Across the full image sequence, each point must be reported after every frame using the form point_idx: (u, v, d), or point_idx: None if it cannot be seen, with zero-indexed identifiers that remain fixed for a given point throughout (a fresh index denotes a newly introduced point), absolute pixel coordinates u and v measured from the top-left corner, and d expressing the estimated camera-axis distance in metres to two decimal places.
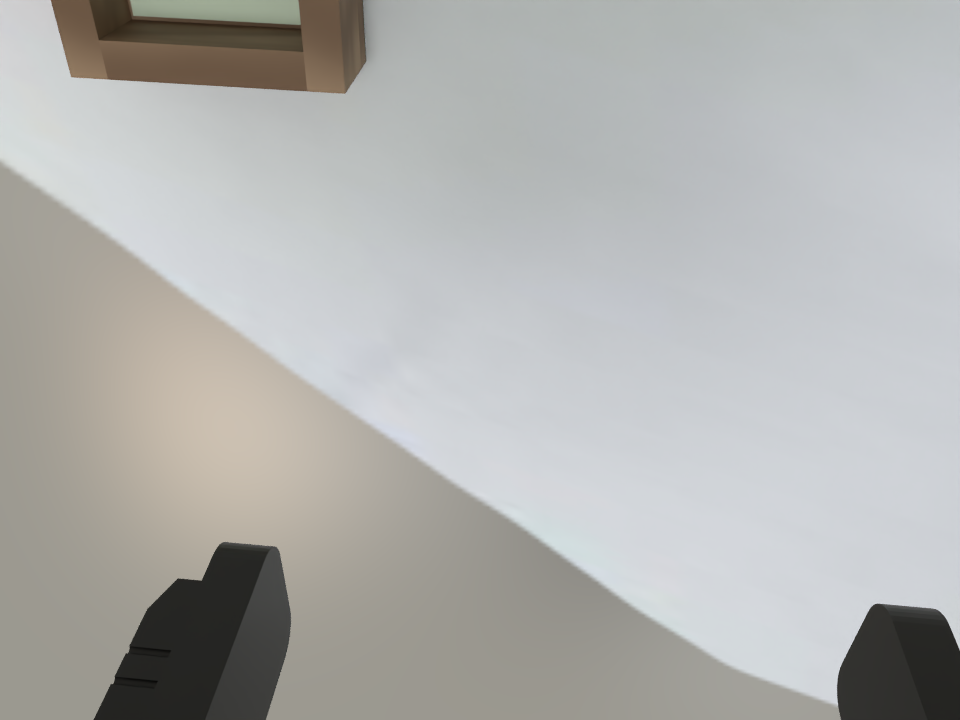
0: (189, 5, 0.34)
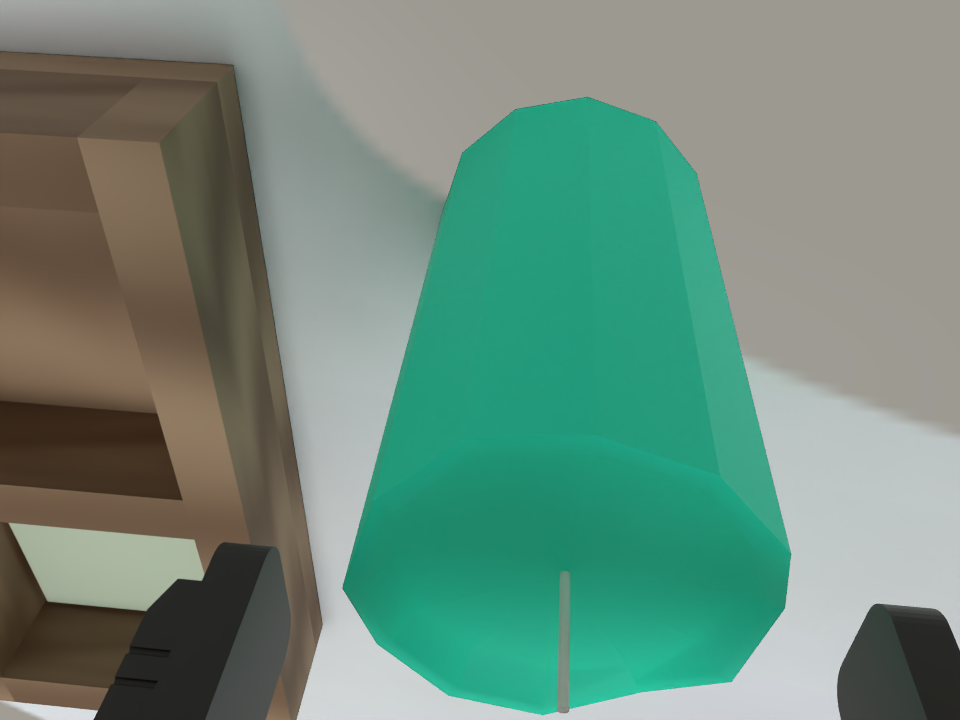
0: (111, 598, 0.29)
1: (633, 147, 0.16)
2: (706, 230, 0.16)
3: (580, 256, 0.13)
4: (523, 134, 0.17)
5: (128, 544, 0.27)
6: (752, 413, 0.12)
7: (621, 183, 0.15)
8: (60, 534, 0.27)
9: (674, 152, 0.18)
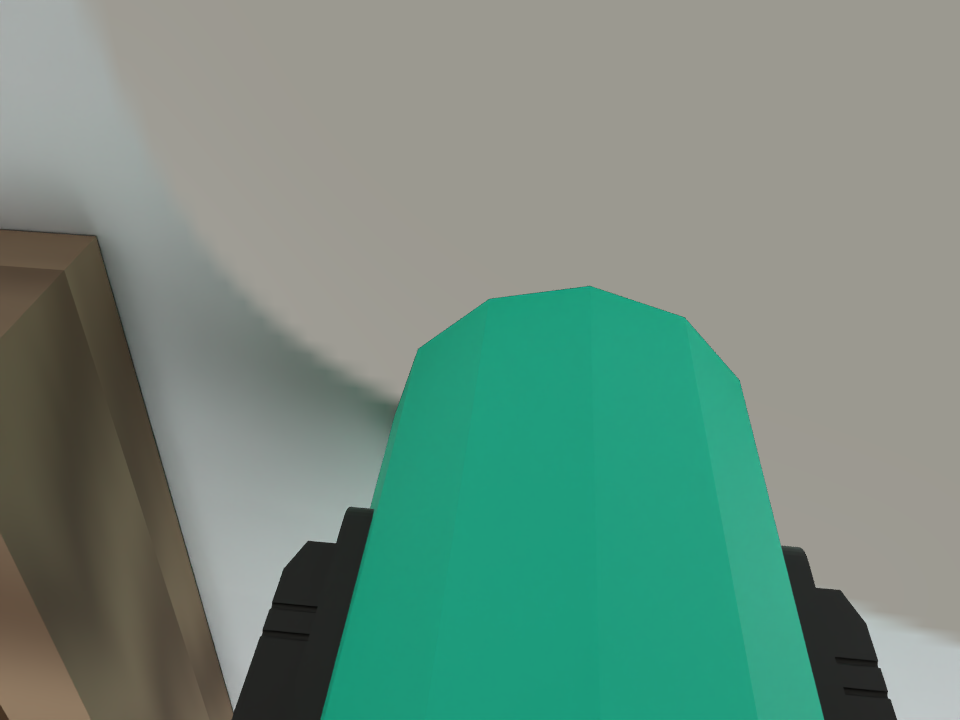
0: None
1: (656, 378, 0.11)
2: (763, 502, 0.11)
3: (582, 666, 0.08)
4: (498, 352, 0.12)
5: None
6: None
7: (643, 465, 0.10)
8: None
9: (711, 362, 0.13)
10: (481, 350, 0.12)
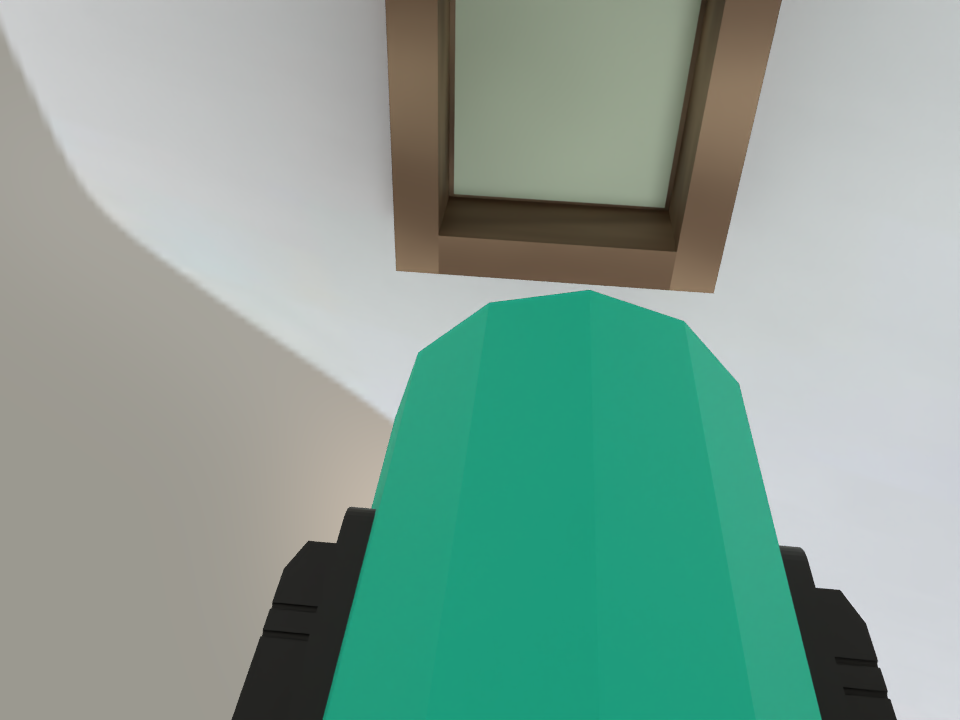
0: (521, 184, 0.30)
1: (656, 383, 0.11)
2: (762, 506, 0.11)
3: (580, 671, 0.08)
4: (498, 356, 0.12)
5: (567, 102, 0.28)
6: None
7: (643, 470, 0.10)
8: (501, 93, 0.28)
9: (710, 366, 0.13)
10: (481, 354, 0.12)
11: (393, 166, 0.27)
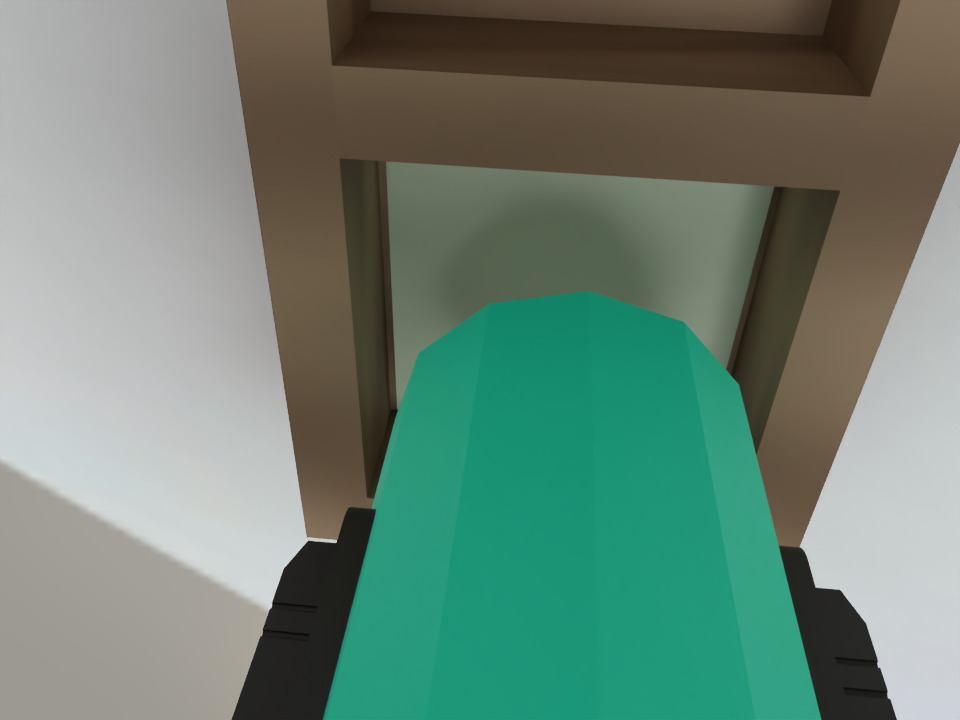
0: None
1: (656, 383, 0.11)
2: (763, 507, 0.11)
3: (580, 672, 0.08)
4: (498, 356, 0.12)
5: None
6: None
7: (642, 471, 0.10)
8: (463, 283, 0.18)
9: (710, 366, 0.13)
10: (481, 355, 0.12)
11: (290, 410, 0.17)
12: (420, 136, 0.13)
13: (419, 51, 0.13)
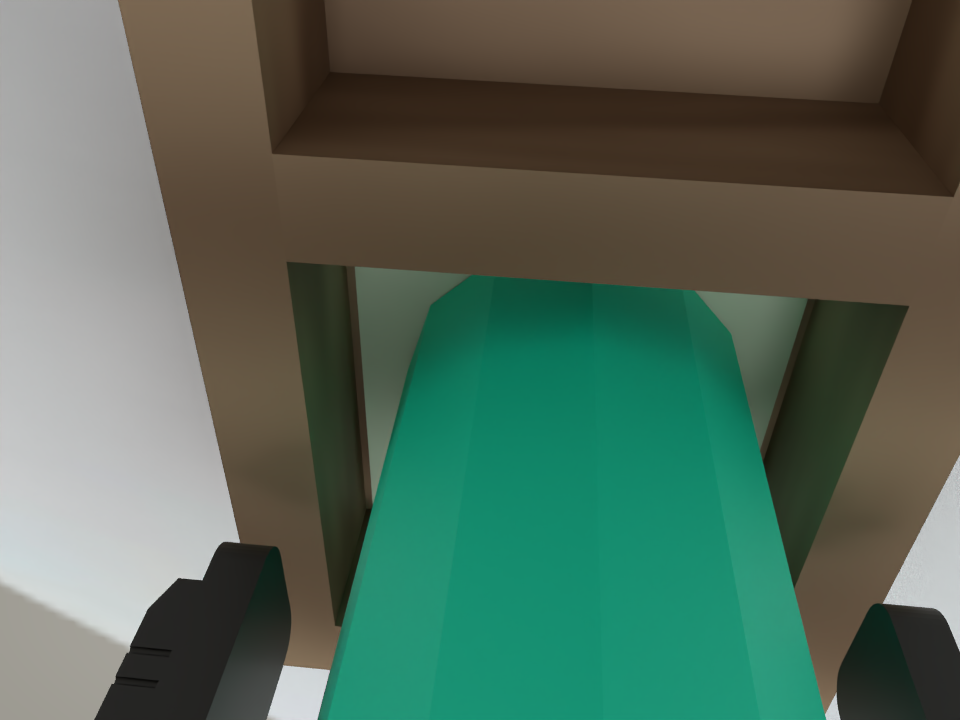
0: None
1: (653, 325, 0.12)
2: (751, 439, 0.12)
3: (584, 561, 0.08)
4: (506, 302, 0.13)
5: None
6: None
7: (640, 398, 0.11)
8: None
9: (704, 315, 0.14)
10: (490, 301, 0.13)
11: (241, 535, 0.14)
12: (384, 237, 0.11)
13: (384, 130, 0.11)
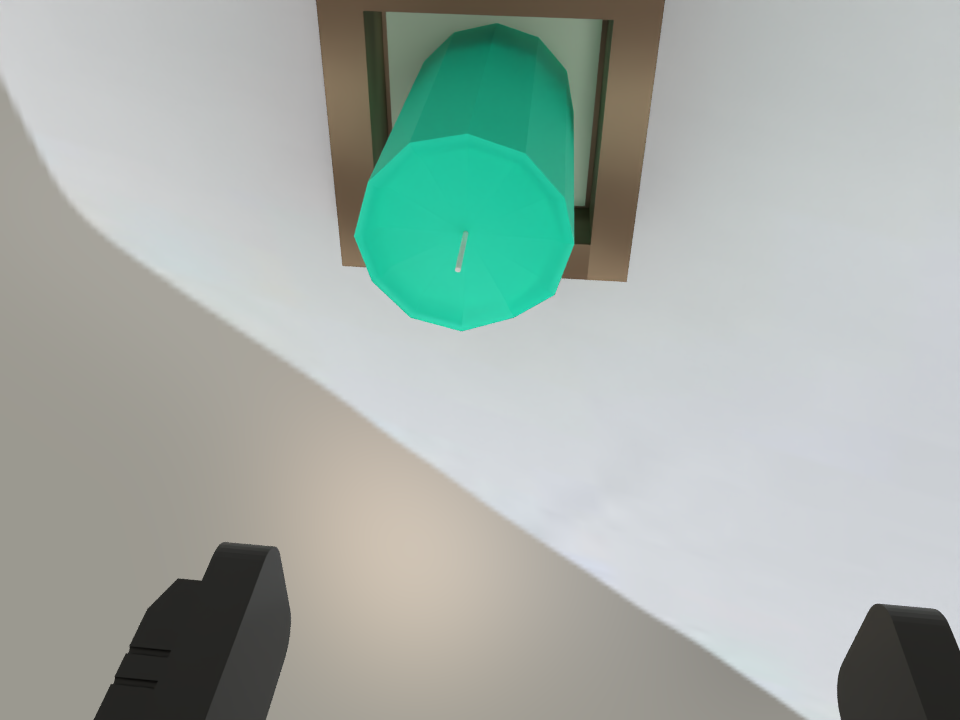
0: None
1: (519, 46, 0.28)
2: (562, 92, 0.28)
3: (475, 83, 0.24)
4: (456, 42, 0.28)
5: None
6: (562, 156, 0.24)
7: (507, 59, 0.26)
8: None
9: (549, 54, 0.29)
10: (449, 43, 0.29)
11: (334, 172, 0.30)
12: None
13: None
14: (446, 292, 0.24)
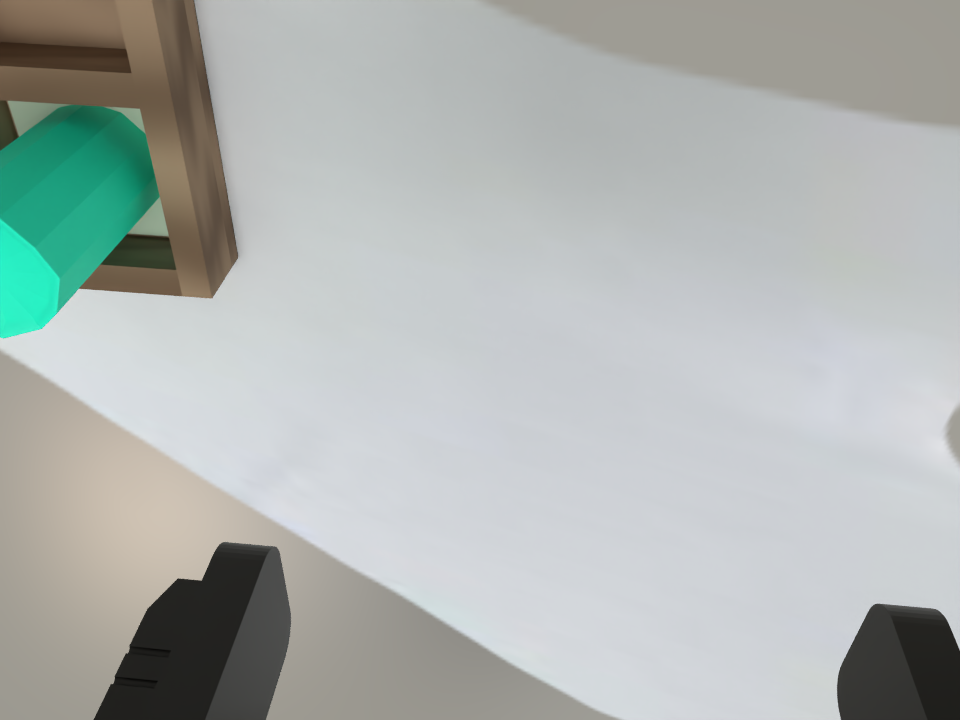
0: None
1: (90, 123, 0.37)
2: (119, 158, 0.37)
3: (10, 159, 0.33)
4: (48, 118, 0.38)
5: None
6: (63, 214, 0.33)
7: (63, 136, 0.36)
8: None
9: (128, 126, 0.39)
10: (44, 118, 0.38)
11: None
12: None
13: None
14: None
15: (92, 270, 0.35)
